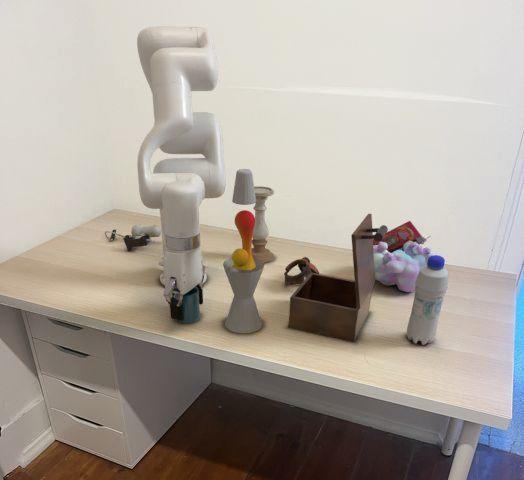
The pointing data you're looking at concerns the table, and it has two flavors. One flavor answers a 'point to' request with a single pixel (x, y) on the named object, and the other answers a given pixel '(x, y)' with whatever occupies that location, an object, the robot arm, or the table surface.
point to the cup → (190, 305)
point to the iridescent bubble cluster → (400, 257)
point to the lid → (365, 257)
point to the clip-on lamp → (138, 236)
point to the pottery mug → (305, 271)
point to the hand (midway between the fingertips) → (187, 310)
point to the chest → (328, 307)
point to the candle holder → (261, 225)
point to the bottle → (428, 300)
